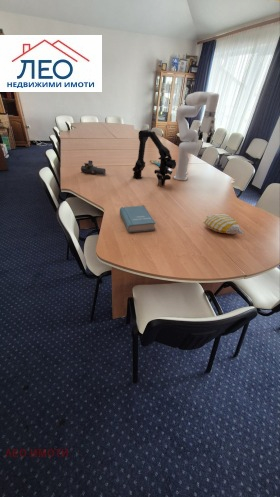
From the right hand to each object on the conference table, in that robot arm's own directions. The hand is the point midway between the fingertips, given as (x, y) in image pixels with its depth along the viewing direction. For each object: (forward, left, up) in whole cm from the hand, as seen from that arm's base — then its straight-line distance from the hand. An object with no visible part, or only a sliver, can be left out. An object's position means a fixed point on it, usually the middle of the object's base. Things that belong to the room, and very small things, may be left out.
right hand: (203, 141), depth 164 cm
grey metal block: (+14, -24, -38) cm, 47 cm away
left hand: (+14, -24, -37) cm, 46 cm away
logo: (-34, -62, -38) cm, 80 cm away
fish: (+44, +46, -38) cm, 74 cm away
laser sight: (+39, -84, -38) cm, 100 cm away
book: (+76, +4, -38) cm, 85 cm away
